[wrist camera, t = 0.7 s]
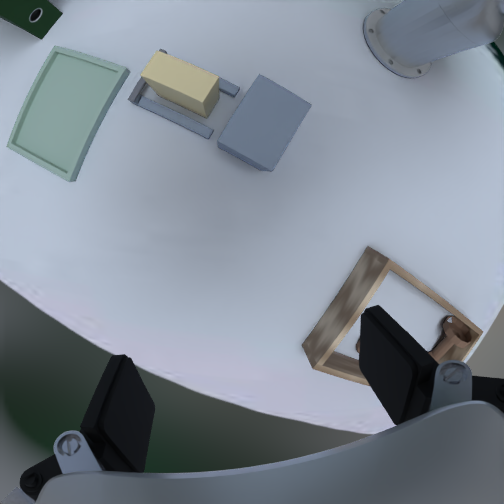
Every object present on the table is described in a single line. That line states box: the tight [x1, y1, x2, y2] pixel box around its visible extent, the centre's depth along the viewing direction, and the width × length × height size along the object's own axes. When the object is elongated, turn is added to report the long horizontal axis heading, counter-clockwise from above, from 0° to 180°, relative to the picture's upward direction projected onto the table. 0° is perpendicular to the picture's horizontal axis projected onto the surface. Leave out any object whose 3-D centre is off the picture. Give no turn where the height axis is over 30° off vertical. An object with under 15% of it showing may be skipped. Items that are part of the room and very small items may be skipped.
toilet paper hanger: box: [356, 316, 472, 361], centre depth 43 cm, size 25×9×8 cm, turn 74°
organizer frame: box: [302, 246, 483, 386], centre depth 42 cm, size 18×34×6 cm, turn 60°
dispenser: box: [128, 49, 312, 171], centre depth 27 cm, size 8×18×8 cm, turn 60°
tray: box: [6, 46, 130, 182], centre depth 27 cm, size 16×14×2 cm
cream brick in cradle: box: [141, 51, 219, 119], centre depth 26 cm, size 3×7×9 cm, turn 61°
